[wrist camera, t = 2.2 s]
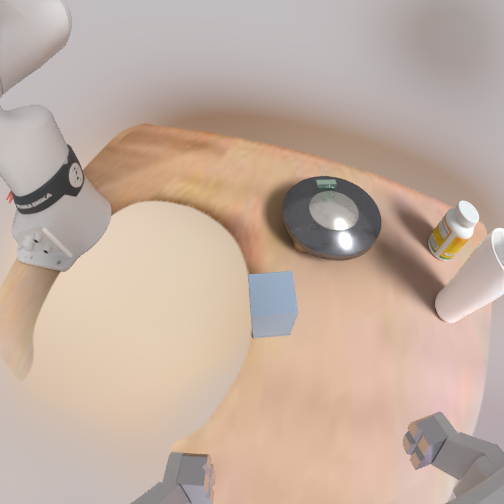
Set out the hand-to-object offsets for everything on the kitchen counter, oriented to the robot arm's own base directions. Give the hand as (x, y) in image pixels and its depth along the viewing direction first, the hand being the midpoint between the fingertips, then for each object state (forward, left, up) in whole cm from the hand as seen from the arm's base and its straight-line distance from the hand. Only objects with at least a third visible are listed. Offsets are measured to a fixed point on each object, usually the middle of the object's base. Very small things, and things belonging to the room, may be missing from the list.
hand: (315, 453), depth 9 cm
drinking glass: (+26, +11, -22) cm, 36 cm away
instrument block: (0, +13, -21) cm, 25 cm away
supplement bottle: (+29, +21, -22) cm, 42 cm away
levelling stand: (+10, +26, -21) cm, 35 cm away
